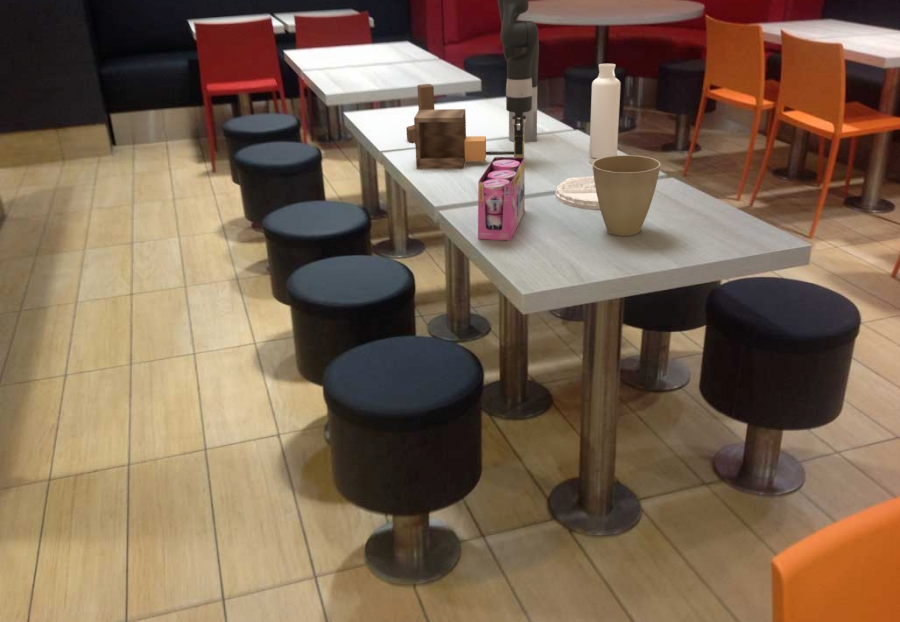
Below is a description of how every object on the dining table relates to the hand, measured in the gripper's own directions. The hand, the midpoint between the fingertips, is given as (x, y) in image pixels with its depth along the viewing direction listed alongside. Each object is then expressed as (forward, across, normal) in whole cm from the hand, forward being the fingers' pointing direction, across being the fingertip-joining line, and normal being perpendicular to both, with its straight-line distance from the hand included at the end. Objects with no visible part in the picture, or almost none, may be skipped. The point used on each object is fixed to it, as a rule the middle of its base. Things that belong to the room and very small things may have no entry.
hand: (519, 152), depth 249 cm
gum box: (+3, -56, +3) cm, 56 cm away
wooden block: (+3, +30, +34) cm, 45 cm away
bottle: (+3, 0, -25) cm, 25 cm away
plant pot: (+3, -61, -25) cm, 66 cm away
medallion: (+4, -32, -21) cm, 38 cm away
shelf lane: (+3, 0, +23) cm, 23 cm away
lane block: (+2, 0, +7) cm, 7 cm away
